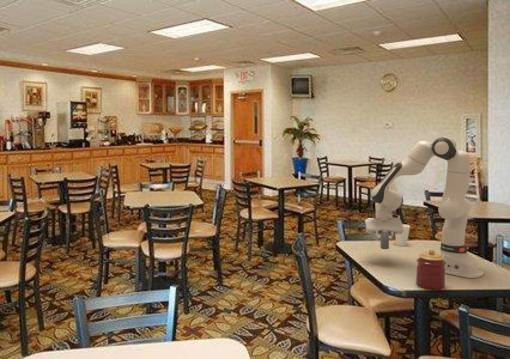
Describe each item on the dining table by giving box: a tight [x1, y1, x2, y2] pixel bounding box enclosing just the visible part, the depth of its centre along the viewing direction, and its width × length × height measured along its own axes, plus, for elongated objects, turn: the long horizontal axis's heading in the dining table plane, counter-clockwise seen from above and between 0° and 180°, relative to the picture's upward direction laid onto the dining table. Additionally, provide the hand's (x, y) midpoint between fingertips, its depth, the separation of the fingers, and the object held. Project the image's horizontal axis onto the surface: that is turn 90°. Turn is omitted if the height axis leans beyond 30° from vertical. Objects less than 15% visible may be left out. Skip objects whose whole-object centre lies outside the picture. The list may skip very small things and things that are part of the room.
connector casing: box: [379, 227, 390, 250], centre depth 240 cm, size 7×4×11 cm, turn 168°
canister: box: [415, 248, 446, 290], centre depth 208 cm, size 13×13×18 cm
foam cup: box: [394, 223, 411, 247], centre depth 285 cm, size 10×9×13 cm
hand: (384, 239), depth 239 cm, fingers closed on connector casing, 4 cm apart
